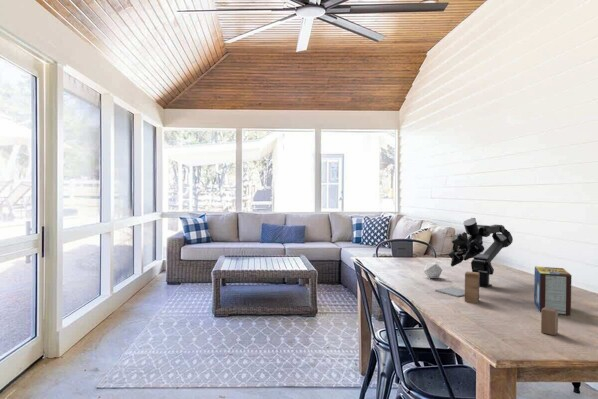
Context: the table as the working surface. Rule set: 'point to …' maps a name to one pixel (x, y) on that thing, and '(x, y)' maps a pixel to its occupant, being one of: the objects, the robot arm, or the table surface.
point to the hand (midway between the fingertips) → (457, 262)
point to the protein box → (552, 289)
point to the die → (432, 270)
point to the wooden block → (549, 321)
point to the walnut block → (472, 287)
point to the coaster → (452, 291)
